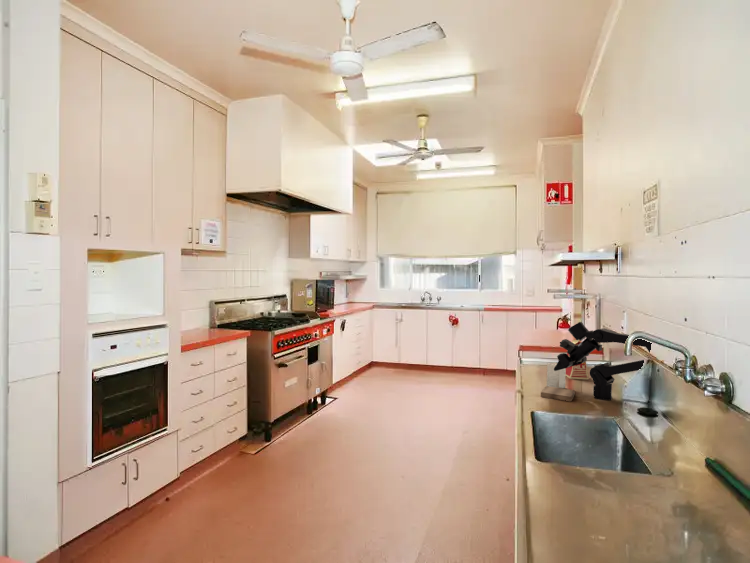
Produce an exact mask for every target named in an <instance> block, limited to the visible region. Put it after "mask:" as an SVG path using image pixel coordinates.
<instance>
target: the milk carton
mask: <svg viewBox="0 0 750 563" xmlns="http://www.w3.org/2000/svg"><path fill="white" fill-rule="evenodd" d="M571 342H572V343H574V344H575V345H579V344H580V343H581V342H582V341H580V340H576V339H571ZM566 354H567V355H568V356H569V354H568V353H567V352H566ZM569 357H570V356H569ZM588 374H589V373H588V365H587V361H585V362H584V363H582V364H579V365H575V366H571V367H568V368H566V377H567V378H568V379H569V380H570V379H571V380H573V379H574V380H589V375H588Z"/></svg>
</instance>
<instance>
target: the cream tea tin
mask: <svg viewBox="0 0 750 563" xmlns="http://www.w3.org/2000/svg"><path fill="white" fill-rule="evenodd" d="M557 363H558V362H555V361H554V362H549V363H547V365H546V386H549V387H556V388H563V389H566V377H567V376H566V368H565V369H561V370H557V371H554V368H555V366H556V365H557Z"/></svg>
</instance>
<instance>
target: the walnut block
mask: <svg viewBox="0 0 750 563" xmlns="http://www.w3.org/2000/svg"><path fill="white" fill-rule="evenodd" d="M575 392H576V390H575V389H569V388H564V389H563V388H556V387H549V386H547V385H545V387H543V389H542V390H541V391H540V397H542V398H546V399H547V398H548V399H552V398H554V399H553V400H558V399H560V400H559V401H565V400H566V401H567V402H572V400H573V399H574V397H575V395H576V394H575Z"/></svg>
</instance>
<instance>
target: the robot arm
mask: <svg viewBox="0 0 750 563" xmlns="http://www.w3.org/2000/svg"><path fill="white" fill-rule="evenodd" d="M567 331H568V332H569V333H570V334H571V336H572V337H573V338H574V340H579V342H581V343H580V344H579V345H575V344H574V343H572V342H573V341H572V340H571V341H570V340H569V339H565V338H564V339H561V341H560V342H559V347H560V348H563V349H564V350H566V352H562V353H559V354H558V355H557V356H556V357H557V360H558V361H557V362H556V363H557V365H556V366H555V368H554V371H557V370H561V369H565V368H568V367H571V366H575V365H579V364H582V363H584V362H585V361H586V362H587V357H589V356H590V354H591V353H592V352H594V351H595V350H596V351H597V352H600V351H603V344H605V343H606V344H608V343H609V344H610V343H617V344H625V341H626V339H627V338H628V336H629V335H630V334H628V333H627V334H626V333H619V332H616V331H614V330H612V329H608V328H604V327H603V328H597V329H595V330H589V329H588V328H587V327H586V326H585V325H584V323H583V322H582V321H579V322H577V323H576V324H574V325H572V326H570V327H569V328H568V330H567ZM601 343H603V344H601ZM651 344H652V343H650V342H647V341H645V340H642V339H637V340H635V341H634V342H633V345H632V346H636V347H637V346H638V347H644V348H645V349H646V350H647V351H648V353H649V354H650V350H651ZM567 353H568V354H569V356H570V357H569V356H568V355H567ZM643 363H644V359H640V360H634V361H629V362H625V363H619V364H615V365H614V364H613V365H612V364H610V363H609V361H607V362H605V363H598V364H595V365H594V366H592V367H591V368H590V370H589V377H590V378H591V379H592V381H593V384H594V385H593V392H592V395H593V399H597V400H598V399H599V400H605V401H612V399H613V396H612V394H613V392H612V390H613V383H614V382H615V377H614V376H615V375H619V374H626V373H630V372H637V371H640V370H639V369H641V367H642V366H643Z"/></svg>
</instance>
